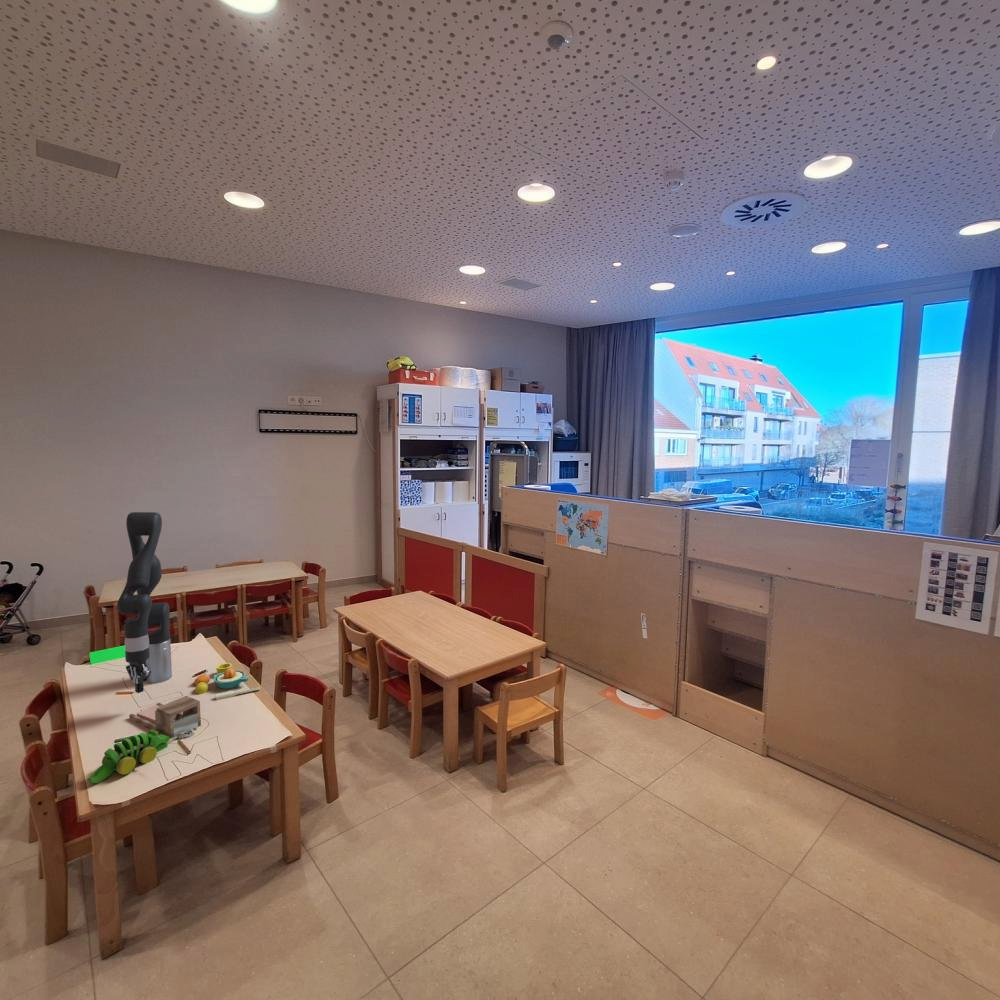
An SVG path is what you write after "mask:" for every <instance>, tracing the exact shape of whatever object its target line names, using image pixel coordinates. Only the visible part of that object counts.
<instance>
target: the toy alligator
mask: <svg viewBox="0 0 1000 1000" xmlns="http://www.w3.org/2000/svg"><path fill="white" fill-rule="evenodd" d="M194 735H195V732H194V730H193V729H192V730H187V731H185V732H182V733H179V734H178V736H176V737H174V738H169V737H168V736H165V735H162V734H158V732H157V731H155V732H154V730H150V729H149V732H147V733H143V732H141V733H139V734H137V735H136V734H134V735H131V736H130V737H129V738H125V739H122V740H121V742H116V743H114V744H113V748H108V749H107V750H105V751H104V756H103V757H102V759H101V765H100V766H99V767H97V769H95V771H94V773H93V774H91V776H89V777H87V778H86V779H87V780H86V781H88V782H89V783H91V784H99V783H100V782H102V781H104V780H105V779H106V778H107V777H109V776H110V775H111V774H112V773H114V772H115V770H116V772H117V773H118V774H119V775H128V774H130V773H131V772H133V770H134V769H135V767H136V765H138V764H139V762H140V763H142V764H145V765H146V764H149V763H151V762H153V761H154V760H155V758H156V757H157V753H158V752H160V751H162V750H164V749H166V748H168V746H169V745H168V743H169V741H171V740H175V739H179V740H183V739H188V738H191V737H193V736H194Z"/></svg>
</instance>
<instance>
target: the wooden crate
mask: <svg viewBox="0 0 1000 1000" xmlns="http://www.w3.org/2000/svg"><path fill="white" fill-rule="evenodd" d="M155 705H158V706H161V707H158V708H156V709H157V710H156V711H155V721H156V724H154V723H152V722H149V721H147V720H145V719H143V718H141V717H139V716H137V714H134V713H130V714H129V715H128V716H129V720H131V721H132V722H135V723H137V724H139V726H143V728H146V729H148V730H149V731H150V730H154V732H155V731H157V732H158V735H160V734H162V735H165V736H168V737H169V738H174V737H176V736H178V734H179V733H182V732H185V731H187V730H192V731H193V730H194V729H196V728H199V727H201V726H202V722H201V721H202V719H201V701H200V700H198V699H195V698H193V697H190V696H187V695H185V696H183V697H180V698H178V699H176V700H173V701H171V702H168V703H165V704H163V703H161V702H158V703H156V704H155ZM174 715H177V719H174V720H173V716H174Z"/></svg>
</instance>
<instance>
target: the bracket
mask: <svg viewBox="0 0 1000 1000" xmlns="http://www.w3.org/2000/svg"><path fill="white" fill-rule="evenodd" d="M88 654H89V662H90V664H91V665H95V664H100V663H101V664H102V663H105V662H109V661H114V660H119V659H124V658H125V644H124V645H121V646H116V647H110V648H105V649H101V650H96V651H91V652H89V653H88Z"/></svg>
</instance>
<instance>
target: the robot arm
mask: <svg viewBox="0 0 1000 1000" xmlns="http://www.w3.org/2000/svg"><path fill="white" fill-rule="evenodd" d="M125 524H126V531H127V536H128V540H129V545H130V549H131V556H132V561H131V562H130V564H129V566H128V571H127V578H126V582H125V586H124V588H123V591H122V592H121V594H120V596H119V598H118V600H117V603H116V607H117V611H118V612H119V613H120V614H122V615H135V614H138V615H137V616H138V617H136V618H133V619H129V620H127V621H126V622H125V623H124V645H125V662H126V663H128V664H129V665H126V666H125V670H126V671H127V674H128V676H129V679H130V681H133V684H134V691H135V693H136V694H140V693H143V692H144V690H145V689H144V683H149V684H159V683H164V682H166V681H168V680H171V678H172V677H173V669H172V665H173V664H172V652H171V651H172V650H171V649H172V647H171V633H170V632H171V629H170V628H171V627H170V615H171V614H170V613H171V611H170V609H171V608H170V605H169V603H168V602H166V601H165V602H154V603H153V599H152V596H151V594H152V593H153V592H154V590H155V589H156V587H157V586H158V585H159V583H160V581H161V579H162V576H163V575H162V565H161V561H160V559H159V558H158V557H157V555H156V554H155V553H156V550H157V546H158V542H159V539H160V535H161V533H162V526H163V519H162V515H161V514H160V512H155V511H153V512H152V511H150V512H149V511H148V512H147V511H142V512H141V511H134V512H129V513H128V515H127V516H126V523H125ZM146 536H148V538H147V541H146V542H144V539H143V537H146ZM135 593H136V594H135ZM153 626H160V627H158V628H156V629H155V630H152V631H150V632H149V631H148V630H149V629H148V628H149V627H153Z"/></svg>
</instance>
